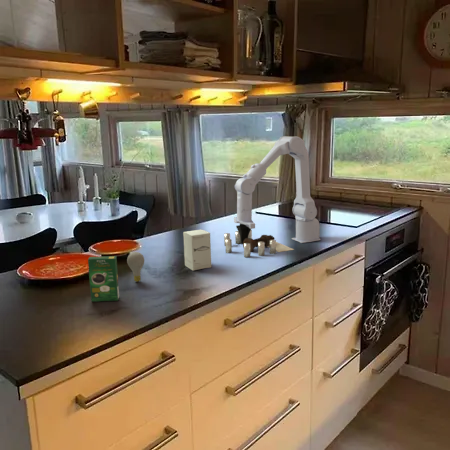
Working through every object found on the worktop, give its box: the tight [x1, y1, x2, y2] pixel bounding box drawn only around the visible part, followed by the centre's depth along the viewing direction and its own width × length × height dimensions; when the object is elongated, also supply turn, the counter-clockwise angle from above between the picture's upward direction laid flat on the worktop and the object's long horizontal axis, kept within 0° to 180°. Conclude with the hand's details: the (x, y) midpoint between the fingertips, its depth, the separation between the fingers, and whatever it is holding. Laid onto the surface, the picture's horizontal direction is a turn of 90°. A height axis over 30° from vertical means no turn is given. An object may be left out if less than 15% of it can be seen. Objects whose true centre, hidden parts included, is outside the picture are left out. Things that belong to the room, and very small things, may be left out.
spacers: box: [223, 229, 277, 258], centre depth 181 cm, size 16×22×5 cm
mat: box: [265, 241, 295, 253], centre depth 186 cm, size 7×20×1 cm, turn 24°
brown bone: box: [242, 234, 276, 253], centre depth 183 cm, size 6×5×15 cm
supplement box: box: [182, 229, 212, 271], centre depth 161 cm, size 7×7×13 cm
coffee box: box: [87, 255, 120, 303], centre depth 133 cm, size 8×3×13 cm, turn 93°
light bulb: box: [126, 251, 145, 283], centre depth 147 cm, size 6×6×10 cm
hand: (243, 243), depth 181 cm, fingers closed, pressing on brown bone
